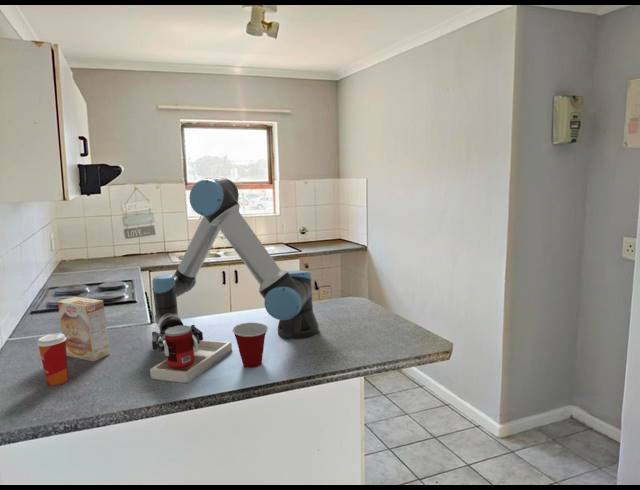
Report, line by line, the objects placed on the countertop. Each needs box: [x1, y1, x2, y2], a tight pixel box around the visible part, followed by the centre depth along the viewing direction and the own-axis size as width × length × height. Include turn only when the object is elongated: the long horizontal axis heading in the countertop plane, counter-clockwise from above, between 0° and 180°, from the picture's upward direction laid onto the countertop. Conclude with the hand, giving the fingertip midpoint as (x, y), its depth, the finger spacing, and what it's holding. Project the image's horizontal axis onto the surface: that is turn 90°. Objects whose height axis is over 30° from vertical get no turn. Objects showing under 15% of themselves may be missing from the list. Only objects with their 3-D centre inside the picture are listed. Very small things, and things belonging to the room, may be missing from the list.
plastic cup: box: [232, 322, 269, 369], centre depth 145 cm, size 11×11×12 cm
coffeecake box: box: [57, 296, 111, 362], centre depth 160 cm, size 15×7×20 cm, turn 62°
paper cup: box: [36, 333, 69, 387], centre depth 140 cm, size 8×8×14 cm
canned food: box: [165, 324, 194, 369], centre depth 142 cm, size 8×8×11 cm
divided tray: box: [149, 339, 233, 384], centre depth 149 cm, size 25×13×3 cm, turn 160°
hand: (182, 348), depth 137 cm, fingers closed on canned food, 8 cm apart
